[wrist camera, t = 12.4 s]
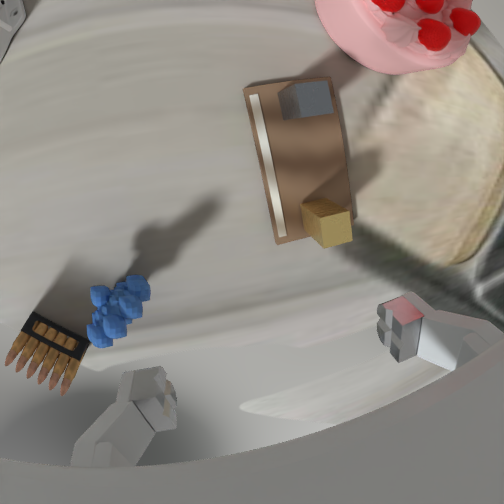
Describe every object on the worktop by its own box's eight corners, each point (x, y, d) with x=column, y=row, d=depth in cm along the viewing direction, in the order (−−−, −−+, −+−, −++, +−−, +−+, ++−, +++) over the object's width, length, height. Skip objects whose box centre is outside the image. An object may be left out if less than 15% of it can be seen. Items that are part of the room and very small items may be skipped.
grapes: (130, 237, 37) (106, 279, 26) (167, 273, 40) (158, 324, 29) (80, 291, 39) (50, 342, 28) (115, 322, 41) (96, 377, 30)
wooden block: (300, 203, 38) (319, 218, 32) (325, 197, 38) (349, 210, 32) (304, 229, 39) (324, 248, 33) (329, 223, 40) (352, 240, 33)
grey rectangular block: (277, 92, 33) (294, 83, 26) (304, 88, 33) (327, 80, 27) (283, 120, 34) (301, 117, 28) (310, 115, 34) (333, 113, 28)
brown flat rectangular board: (242, 89, 33) (244, 88, 32) (327, 77, 34) (331, 76, 33) (275, 242, 41) (277, 245, 40) (350, 222, 42) (354, 225, 40)
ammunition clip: (89, 340, 42) (68, 394, 31) (87, 348, 42) (67, 402, 31) (32, 311, 38) (-1, 357, 27) (31, 319, 39) (0, 366, 28)
